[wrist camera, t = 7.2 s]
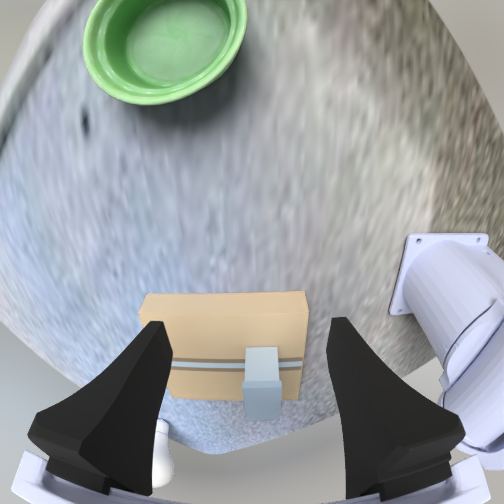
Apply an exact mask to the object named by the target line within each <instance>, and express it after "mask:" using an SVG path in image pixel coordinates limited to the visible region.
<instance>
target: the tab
mask: <svg viewBox="0 0 504 504" xmlns="http://www.w3.org/2000/svg"><path fill="white" fill-rule="evenodd" d="M242 393H243V400H244V408H245V415H246V421H261V420H280V411H281V396H282V381H279V366H278V350H277V347H246V356H245V380H244V381H242Z"/></svg>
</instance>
